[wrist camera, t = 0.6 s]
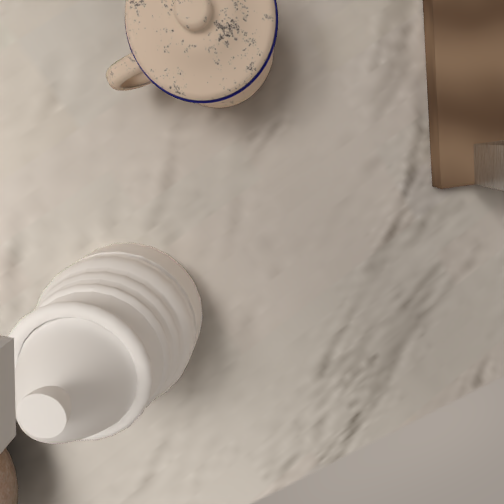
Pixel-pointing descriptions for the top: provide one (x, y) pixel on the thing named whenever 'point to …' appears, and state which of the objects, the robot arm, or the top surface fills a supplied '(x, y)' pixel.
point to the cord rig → (465, 91)
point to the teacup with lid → (198, 48)
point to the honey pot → (103, 343)
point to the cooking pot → (8, 480)
